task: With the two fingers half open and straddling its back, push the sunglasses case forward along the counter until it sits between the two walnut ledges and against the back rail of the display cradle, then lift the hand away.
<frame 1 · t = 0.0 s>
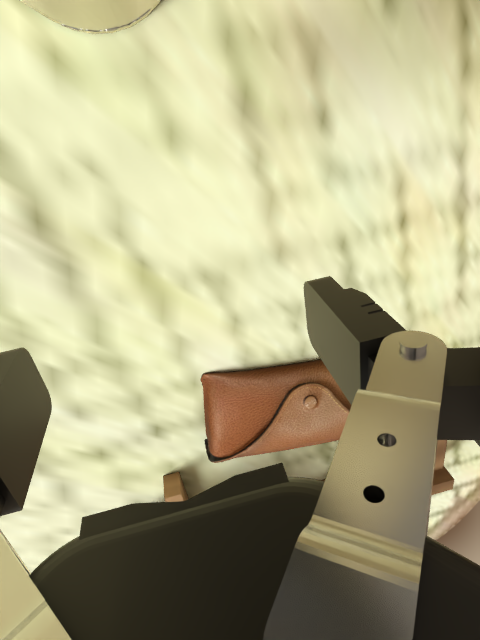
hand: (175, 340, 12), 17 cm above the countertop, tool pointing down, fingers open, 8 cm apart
display cradle: (304, 448, 41), on the countertop
sunglasses case: (296, 390, 38), on the countertop
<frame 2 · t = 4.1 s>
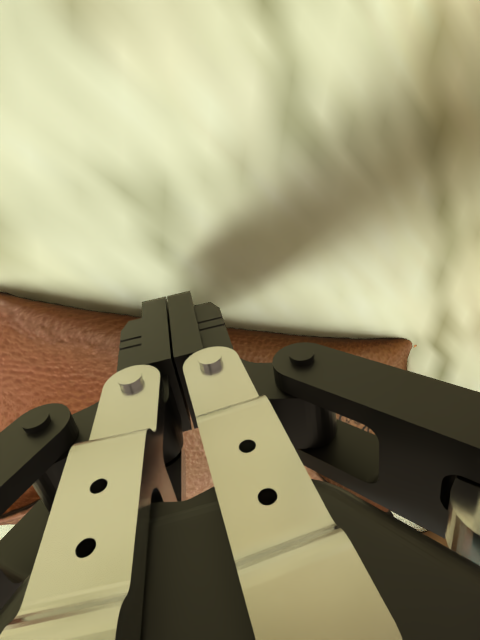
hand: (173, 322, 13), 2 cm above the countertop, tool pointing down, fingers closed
sunglasses case: (200, 393, 18), on the countertop
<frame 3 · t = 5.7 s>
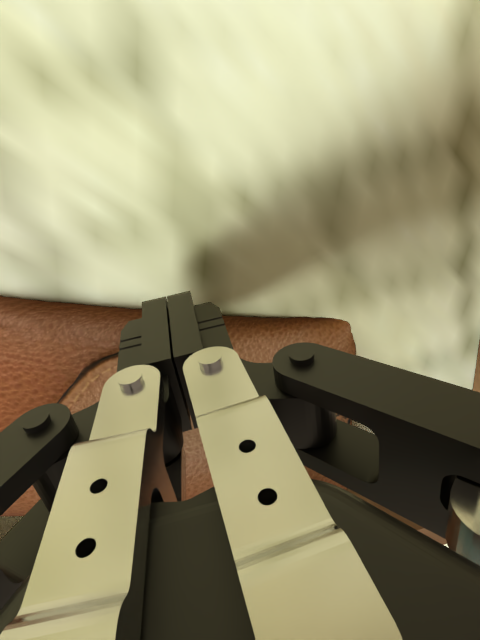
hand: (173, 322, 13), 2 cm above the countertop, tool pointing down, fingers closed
display cradle: (198, 405, 17), on the countertop
sunglasses case: (142, 379, 17), on the countertop, touching gripper
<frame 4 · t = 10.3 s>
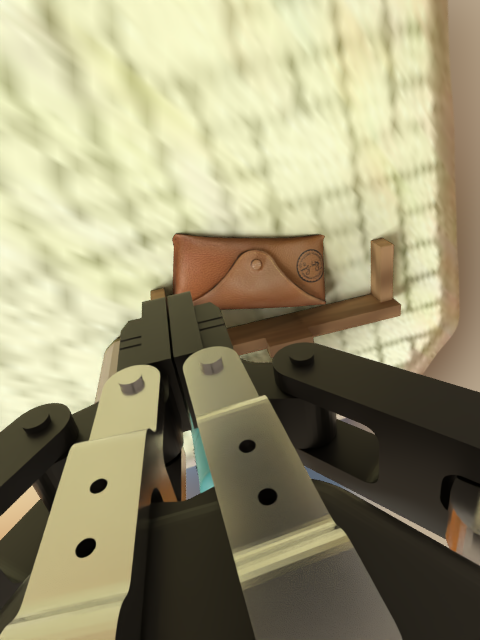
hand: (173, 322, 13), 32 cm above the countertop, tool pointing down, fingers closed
display cradle: (271, 275, 49), on the countertop
sunglasses case: (248, 266, 48), on the countertop
bottle: (131, 354, 50), on the countertop
beverage bottle: (210, 389, 55), on the countertop
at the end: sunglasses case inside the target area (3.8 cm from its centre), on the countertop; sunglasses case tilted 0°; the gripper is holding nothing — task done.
